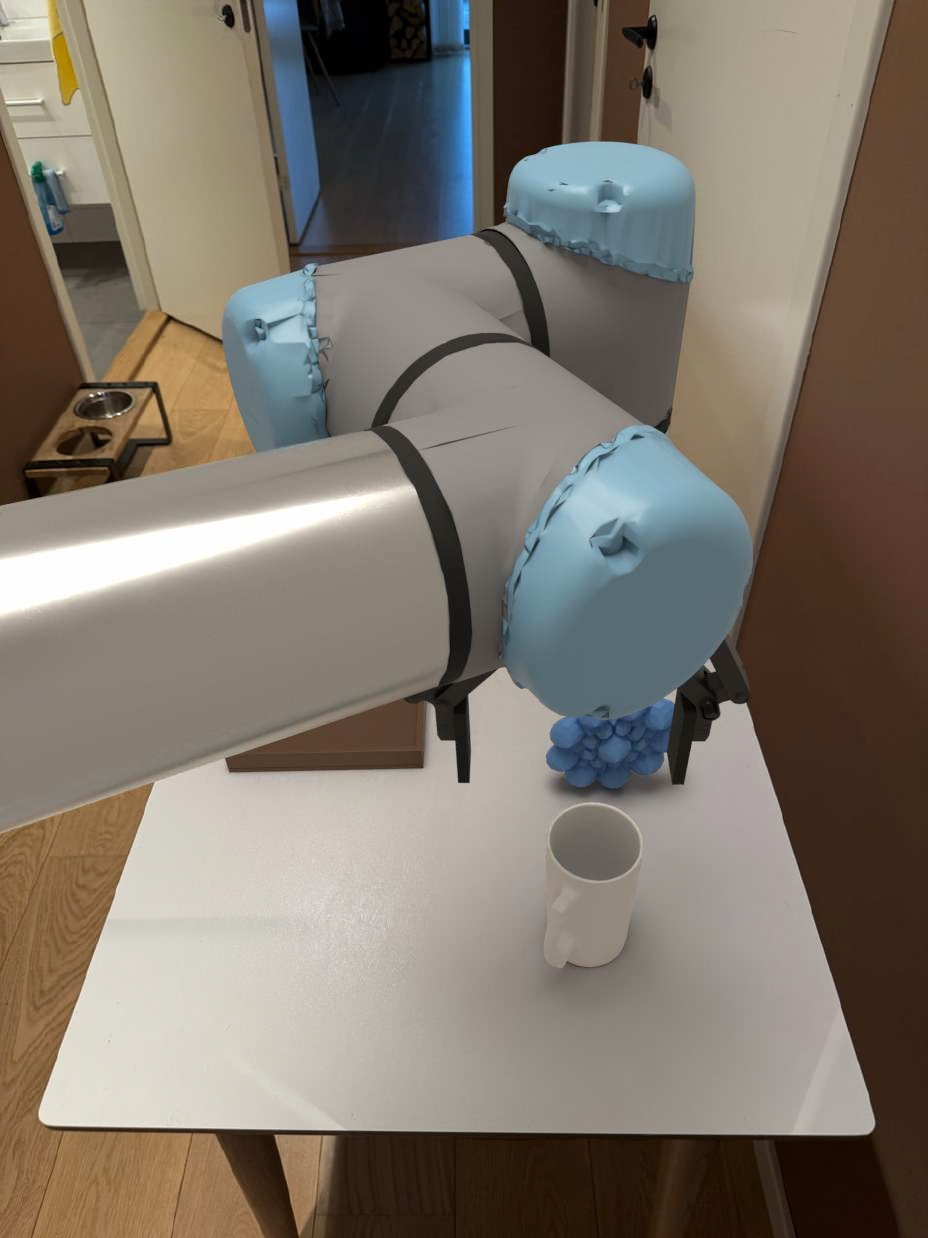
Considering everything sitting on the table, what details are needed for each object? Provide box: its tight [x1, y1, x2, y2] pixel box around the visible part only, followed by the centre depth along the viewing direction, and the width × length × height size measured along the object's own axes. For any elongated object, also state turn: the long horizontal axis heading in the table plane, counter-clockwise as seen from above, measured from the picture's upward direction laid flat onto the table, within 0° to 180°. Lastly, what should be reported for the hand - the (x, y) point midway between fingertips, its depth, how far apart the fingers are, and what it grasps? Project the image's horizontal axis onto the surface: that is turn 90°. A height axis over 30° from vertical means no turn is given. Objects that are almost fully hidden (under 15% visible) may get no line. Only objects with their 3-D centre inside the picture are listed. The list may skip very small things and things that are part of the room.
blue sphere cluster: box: [545, 697, 675, 790], centre depth 80 cm, size 12×7×12 cm, turn 90°
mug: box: [543, 801, 644, 969], centre depth 68 cm, size 10×7×12 cm, turn 146°
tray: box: [224, 698, 427, 773], centre depth 96 cm, size 29×18×2 cm, turn 0°
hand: (569, 767), depth 60 cm, fingers open, 13 cm apart
